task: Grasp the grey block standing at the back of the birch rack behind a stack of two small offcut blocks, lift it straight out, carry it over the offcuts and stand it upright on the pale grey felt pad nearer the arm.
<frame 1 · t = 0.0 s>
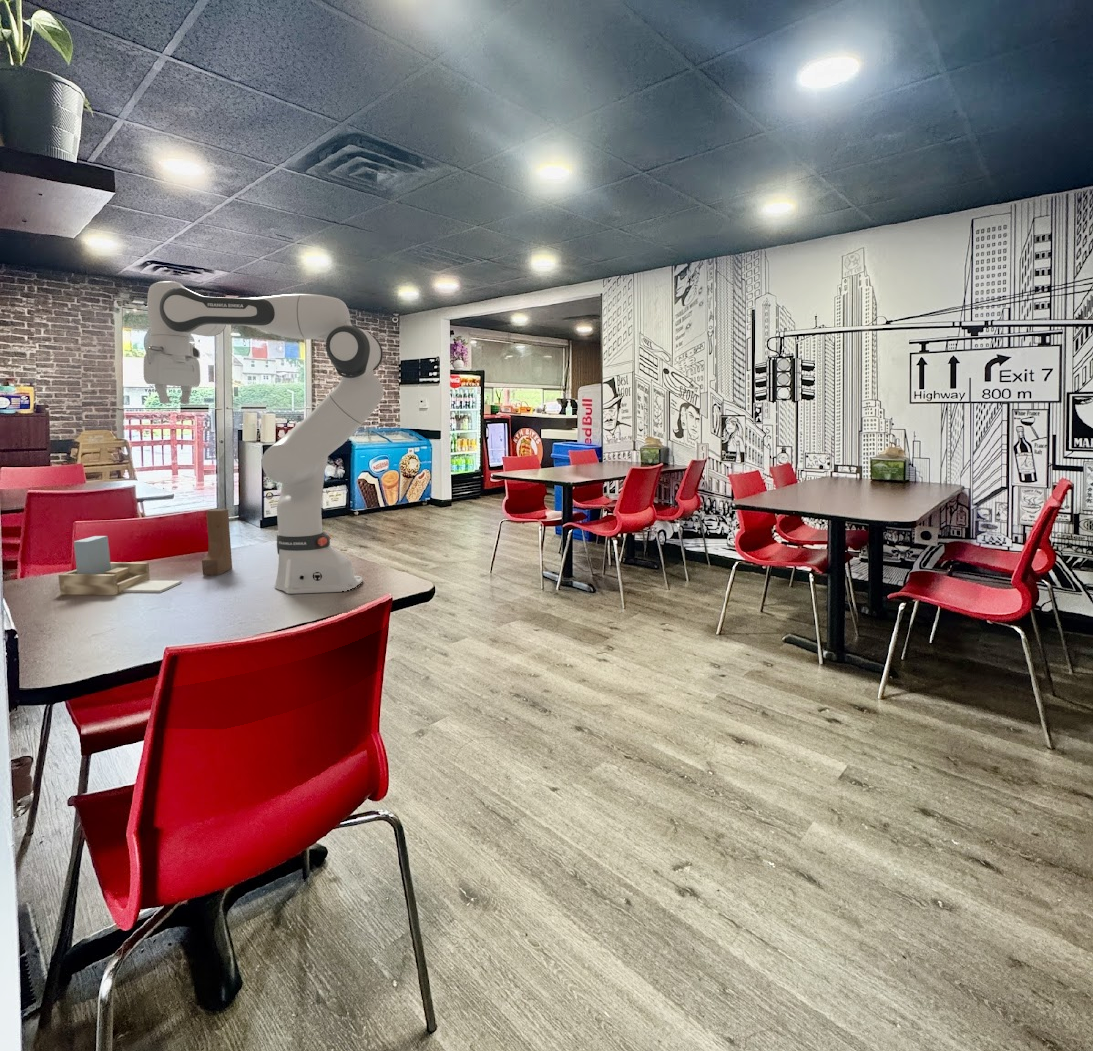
hand: (175, 403, 173), 48 cm above the table, fingers open, 8 cm apart
offcut walnut: (118, 588, 177), resting in rack, touching offcut oak
offcut oak: (117, 579, 177), point 2 cm above the table, touching offcut walnut
grey block: (96, 587, 177), resting in rack
wooden block: (218, 572, 195), on the table
felt pad: (152, 587, 177), on the table
rack: (109, 587, 177), on the table
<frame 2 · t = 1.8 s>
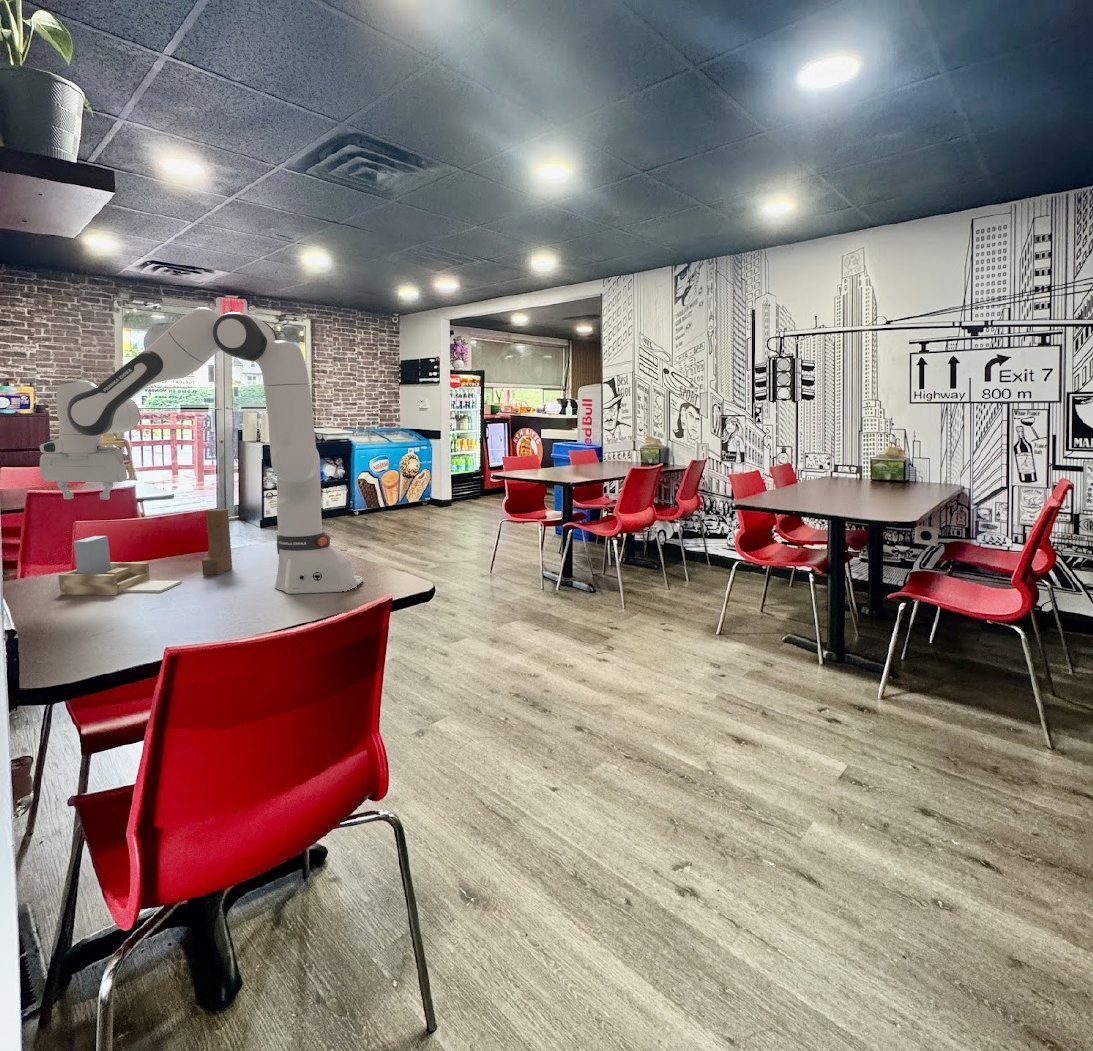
hand: (86, 499, 173), 23 cm above the table, fingers open, 8 cm apart
nothing on the table moved.
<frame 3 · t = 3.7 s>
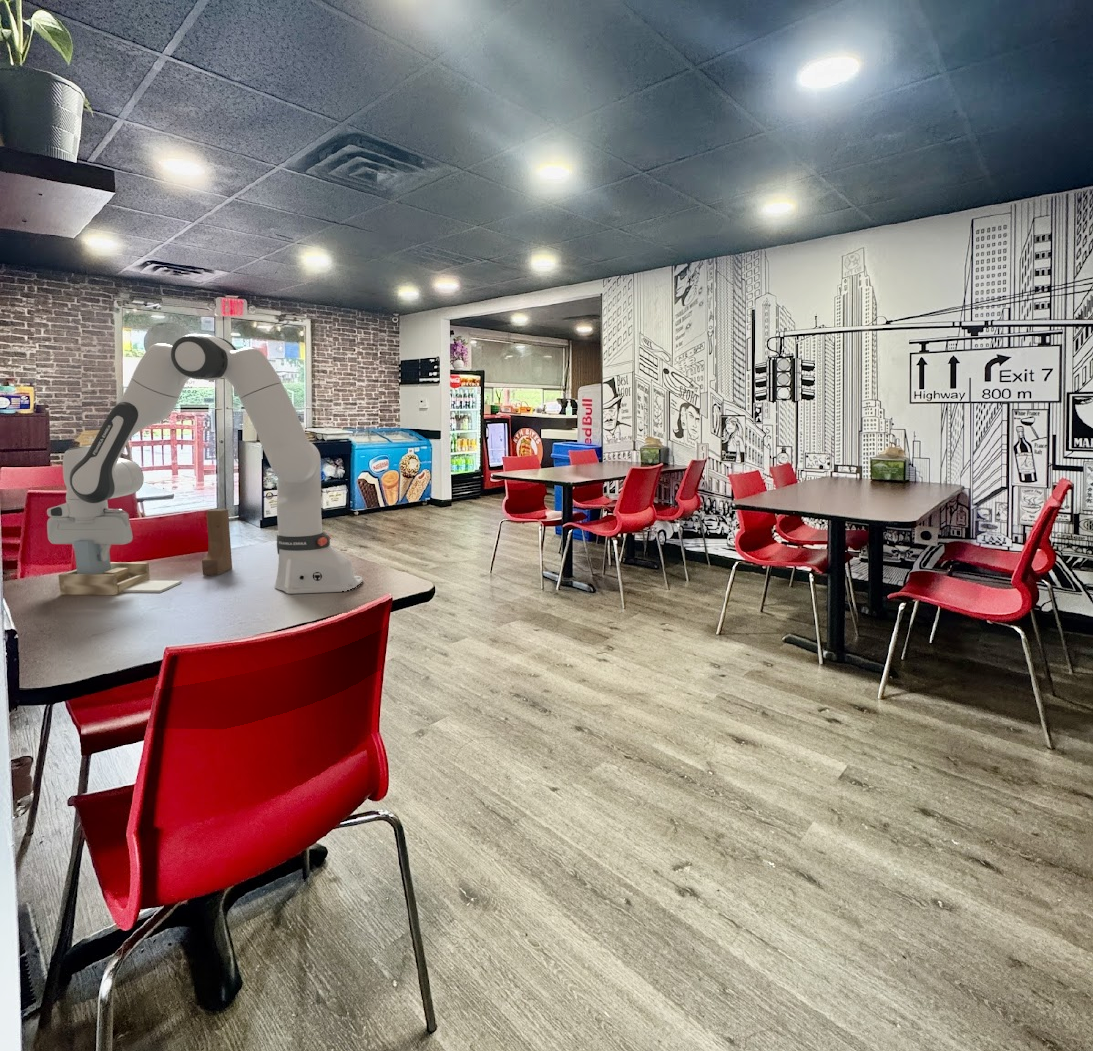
hand: (93, 560, 176), 7 cm above the table, fingers closed on grey block, 4 cm apart
grey block: (96, 587, 177), resting in rack, touching gripper
everything else where it was.
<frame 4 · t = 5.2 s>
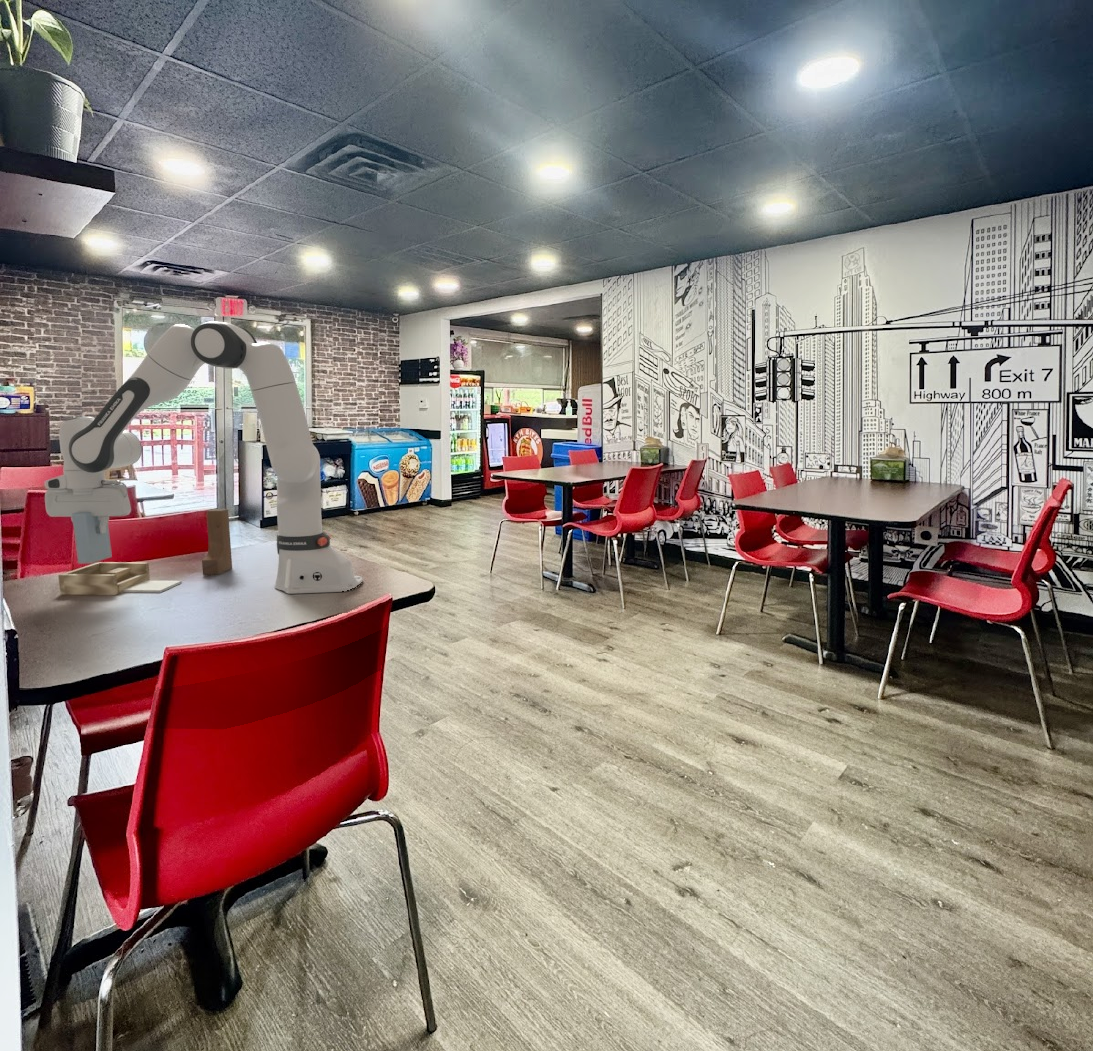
hand: (92, 533, 175), 14 cm above the table, fingers closed on grey block, 3 cm apart
grey block: (95, 560, 176), point 7 cm above the table, touching gripper
everything else where it was.
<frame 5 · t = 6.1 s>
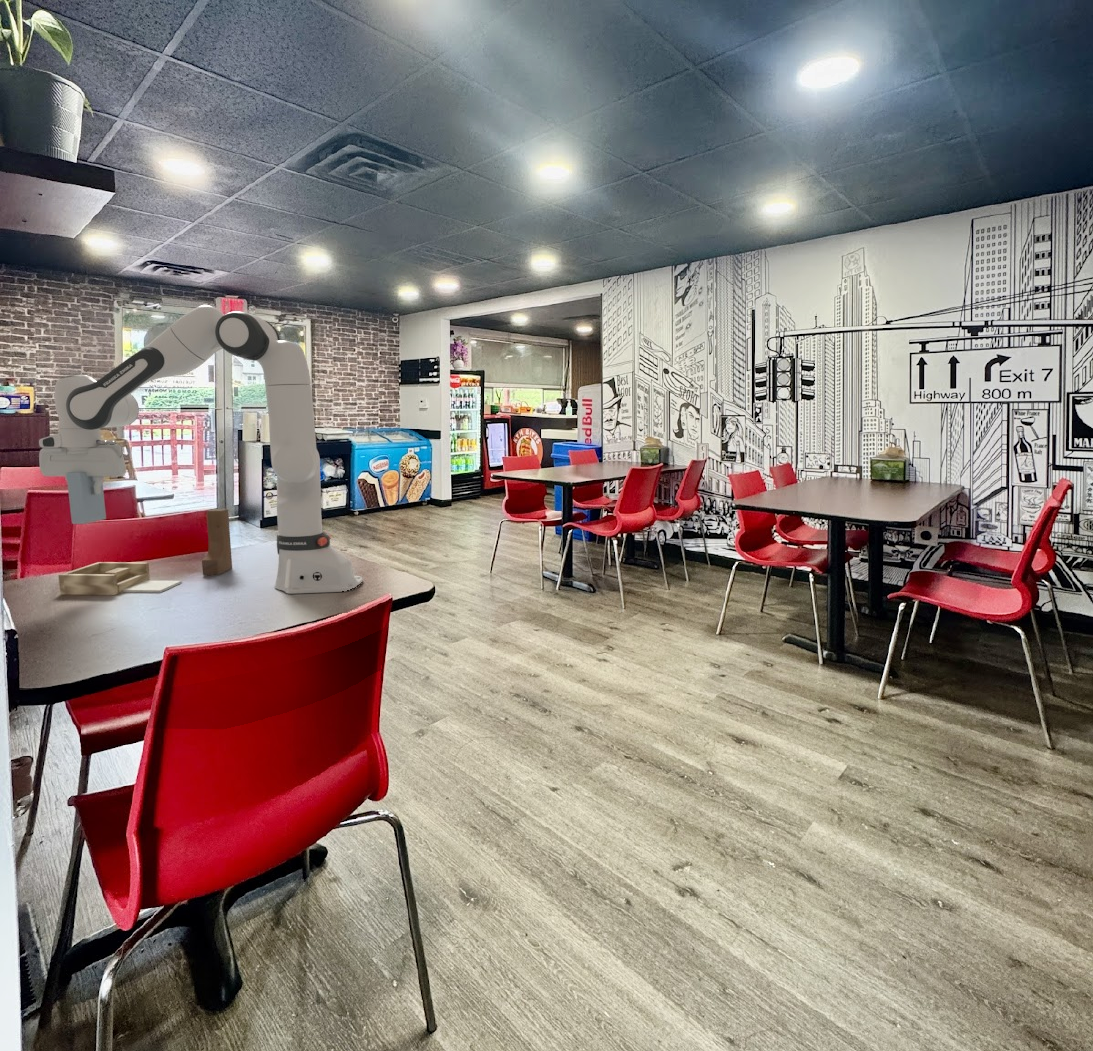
hand: (86, 493, 173), 25 cm above the table, fingers closed on grey block, 3 cm apart
offcut walnut: (118, 588, 177), resting in rack
offcut oak: (117, 579, 177), point 2 cm above the table
grey block: (89, 521, 174), point 18 cm above the table, touching gripper
everything else where it was.
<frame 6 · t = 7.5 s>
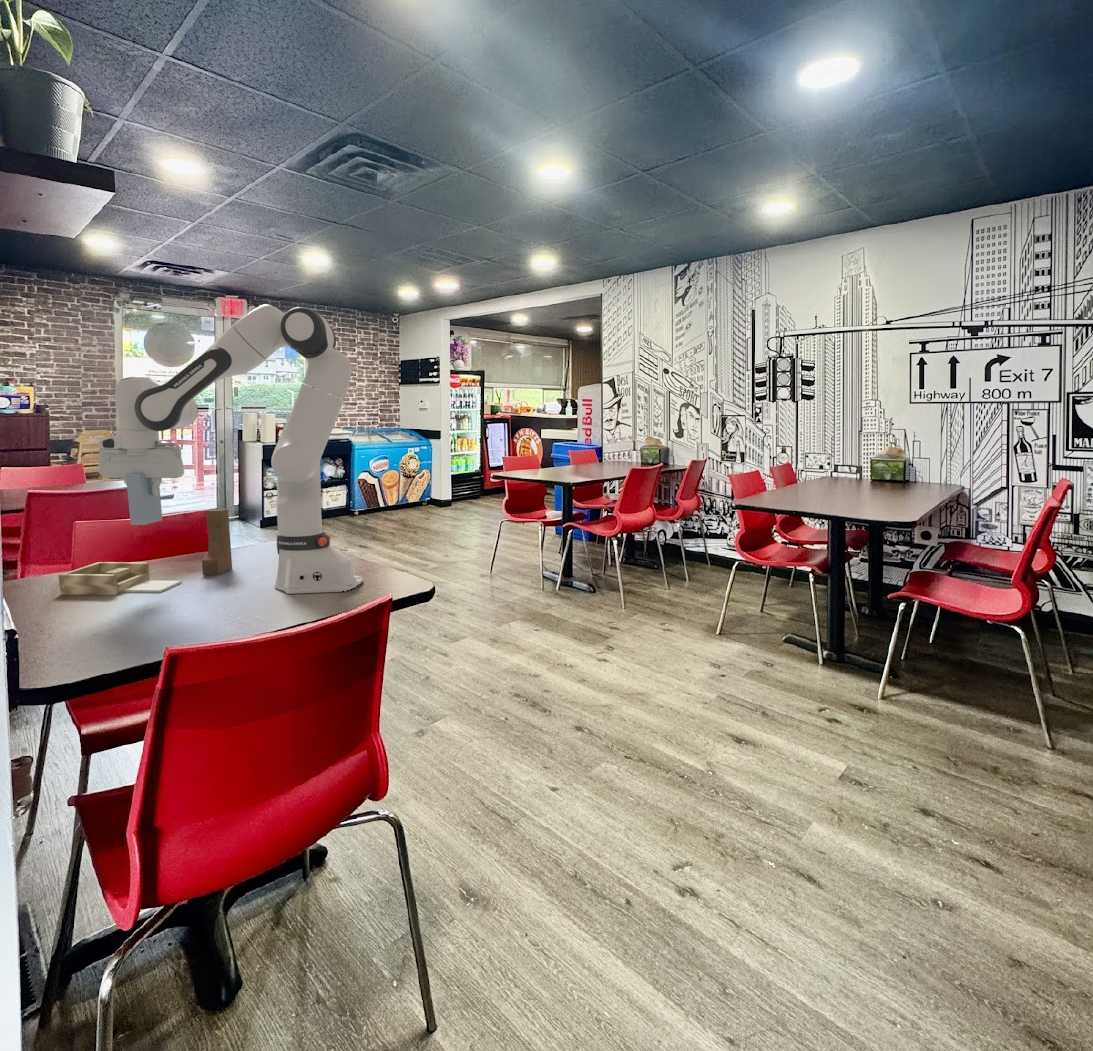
hand: (144, 495, 173), 25 cm above the table, fingers closed on grey block, 3 cm apart
offcut walnut: (118, 588, 177), resting in rack, touching offcut oak
offcut oak: (118, 579, 177), point 2 cm above the table, touching offcut walnut
grey block: (146, 522, 174), point 17 cm above the table, touching gripper
everything else where it was.
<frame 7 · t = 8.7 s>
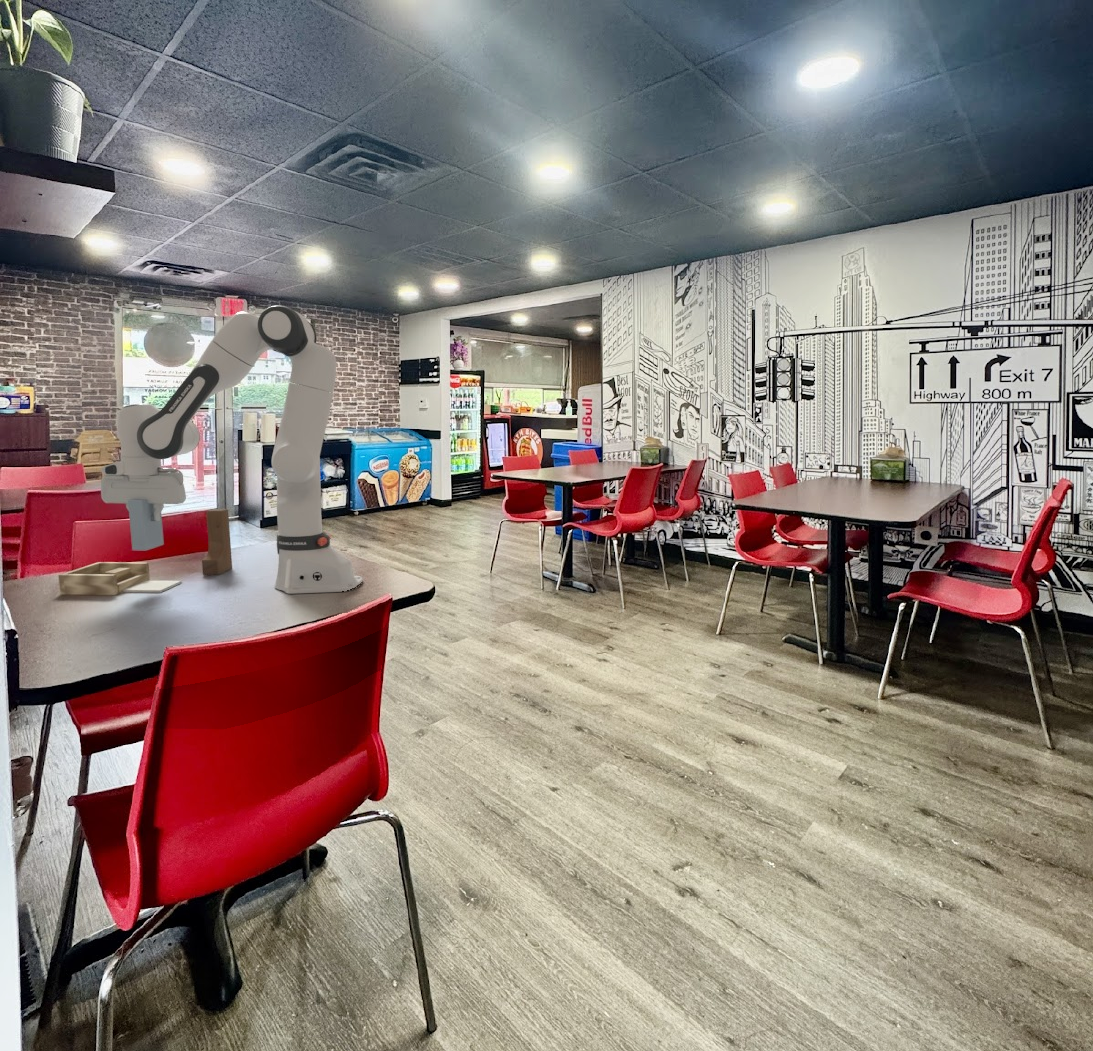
hand: (146, 520, 174), 18 cm above the table, fingers closed on grey block, 3 cm apart
grey block: (148, 547, 175), point 11 cm above the table, touching gripper
everything else where it was.
when the fingers open (9 cm above the table, at t = 10.6 s): grey block stays where it is, resting on felt pad.
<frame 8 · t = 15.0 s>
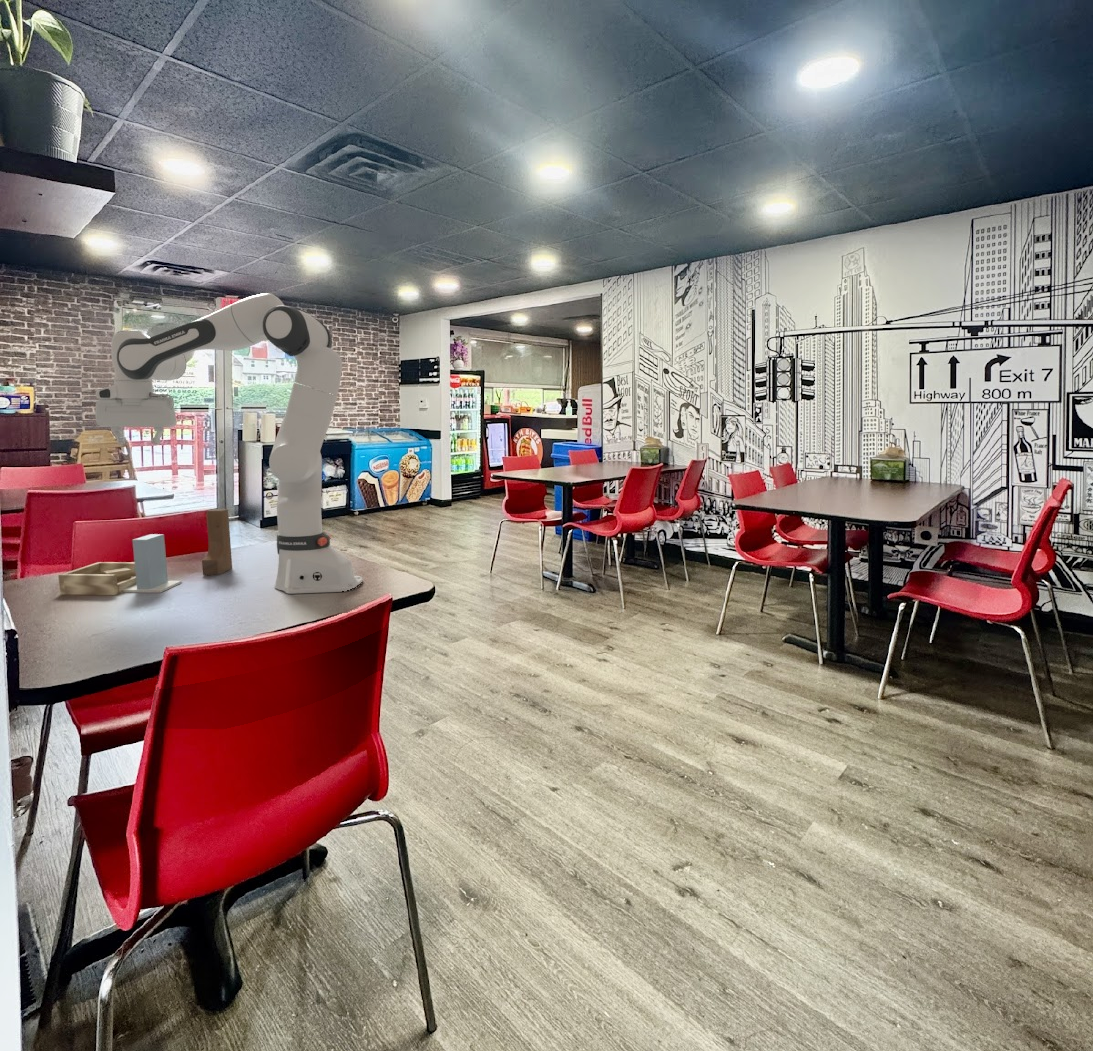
hand: (138, 444, 183), 37 cm above the table, fingers open, 8 cm apart
offcut walnut: (119, 588, 177), resting in rack
offcut oak: (117, 579, 177), point 2 cm above the table
grey block: (152, 585, 177), point 1 cm above the table, touching felt pad
everything else where it was.
at the end: grey block inside the target area on the felt pad (0.1 cm from its centre), point 0.6 cm above the felt pad's base; grey block tilted 0°; the gripper is holding nothing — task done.
